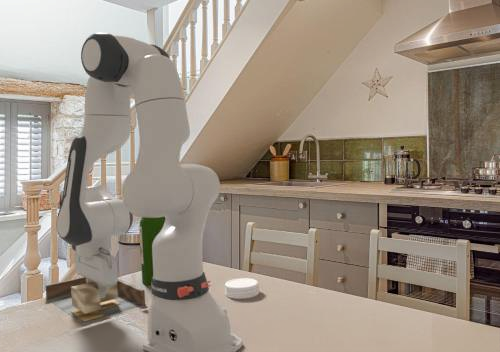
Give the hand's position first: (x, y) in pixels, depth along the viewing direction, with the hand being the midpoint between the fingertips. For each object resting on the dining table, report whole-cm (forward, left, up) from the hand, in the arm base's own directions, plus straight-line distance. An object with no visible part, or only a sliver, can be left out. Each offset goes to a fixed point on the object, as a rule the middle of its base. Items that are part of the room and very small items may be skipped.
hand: (97, 295), depth 117 cm
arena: (+6, -1, -4) cm, 7 cm away
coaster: (-20, -35, -4) cm, 40 cm away
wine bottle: (+9, -23, -4) cm, 25 cm away
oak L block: (-3, +1, -2) cm, 3 cm away
